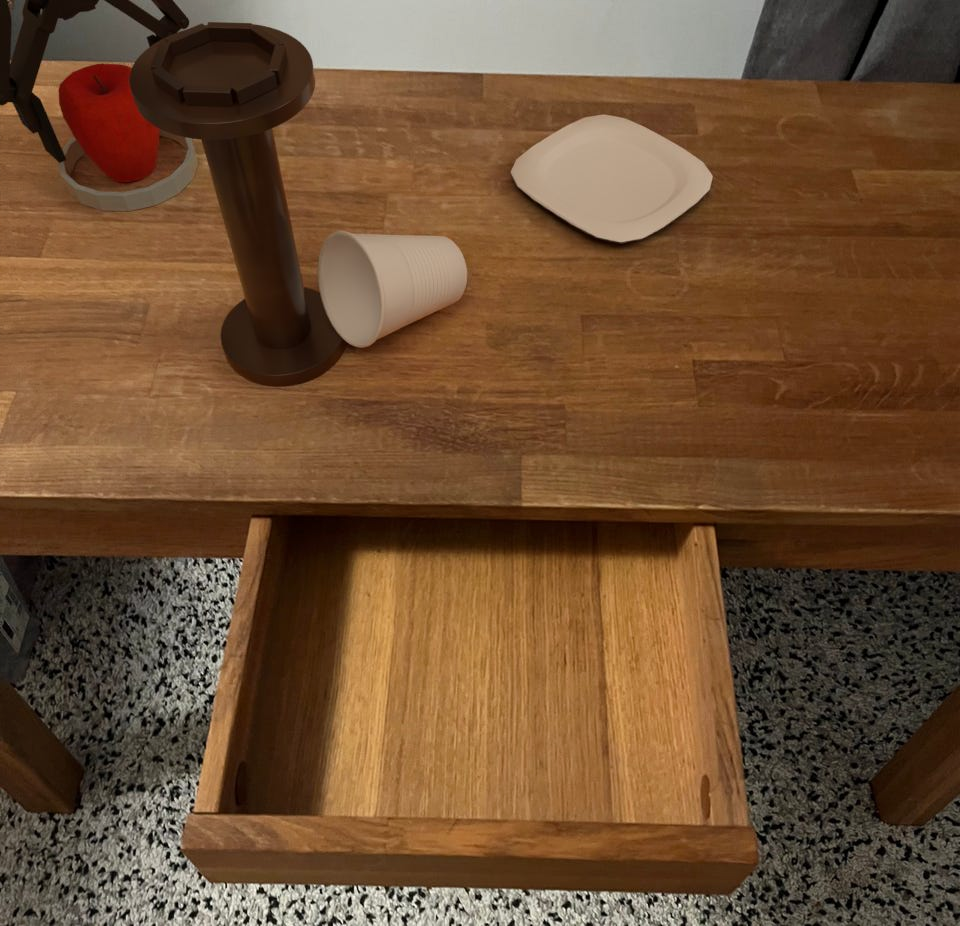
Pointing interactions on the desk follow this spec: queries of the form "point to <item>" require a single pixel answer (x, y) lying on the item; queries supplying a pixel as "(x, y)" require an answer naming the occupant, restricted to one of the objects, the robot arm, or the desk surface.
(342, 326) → the cup
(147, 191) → the grey faceted ring
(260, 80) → the holder
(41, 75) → the desk surface
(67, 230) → the desk surface
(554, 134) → the plate
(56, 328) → the desk surface
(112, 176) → the apple
